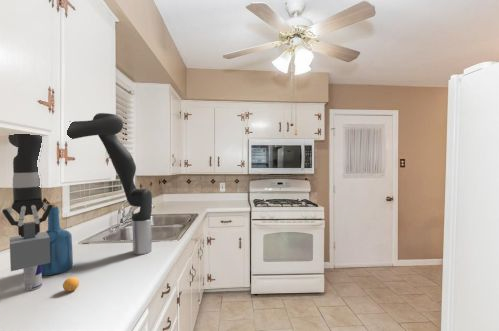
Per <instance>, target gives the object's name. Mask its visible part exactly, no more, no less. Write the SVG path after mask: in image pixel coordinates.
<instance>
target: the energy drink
mask: <svg viewBox="0 0 499 331" xmlns="http://www.w3.org/2000/svg"><path fill="white" fill-rule="evenodd" d="M23 286H24V287H23V288H24V291H27V292H31V291H35V290H38V289H40V288H41V287H42V286H43V277H42V270H41V265H38V266H33V267H29V268H24V269H23Z"/></svg>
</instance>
